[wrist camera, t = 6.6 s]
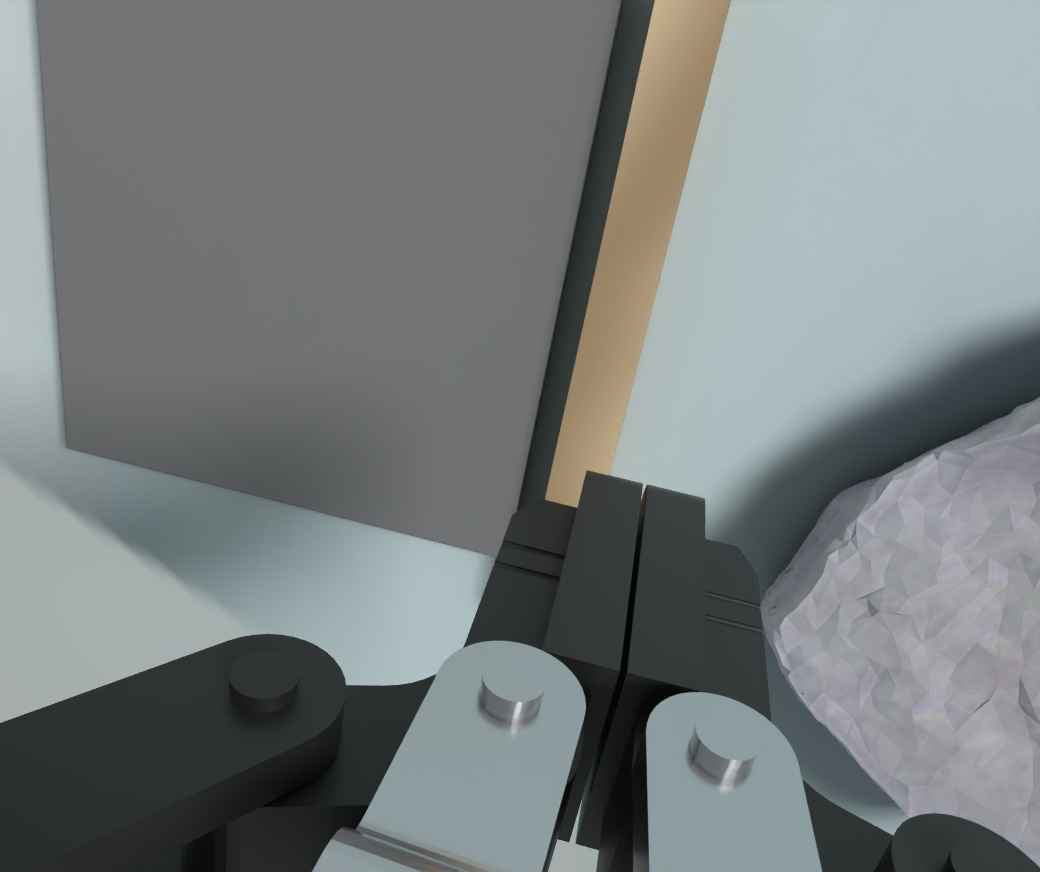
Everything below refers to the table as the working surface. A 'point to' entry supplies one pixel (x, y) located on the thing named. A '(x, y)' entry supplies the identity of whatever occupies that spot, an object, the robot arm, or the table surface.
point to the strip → (636, 235)
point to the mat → (320, 241)
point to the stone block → (929, 628)
